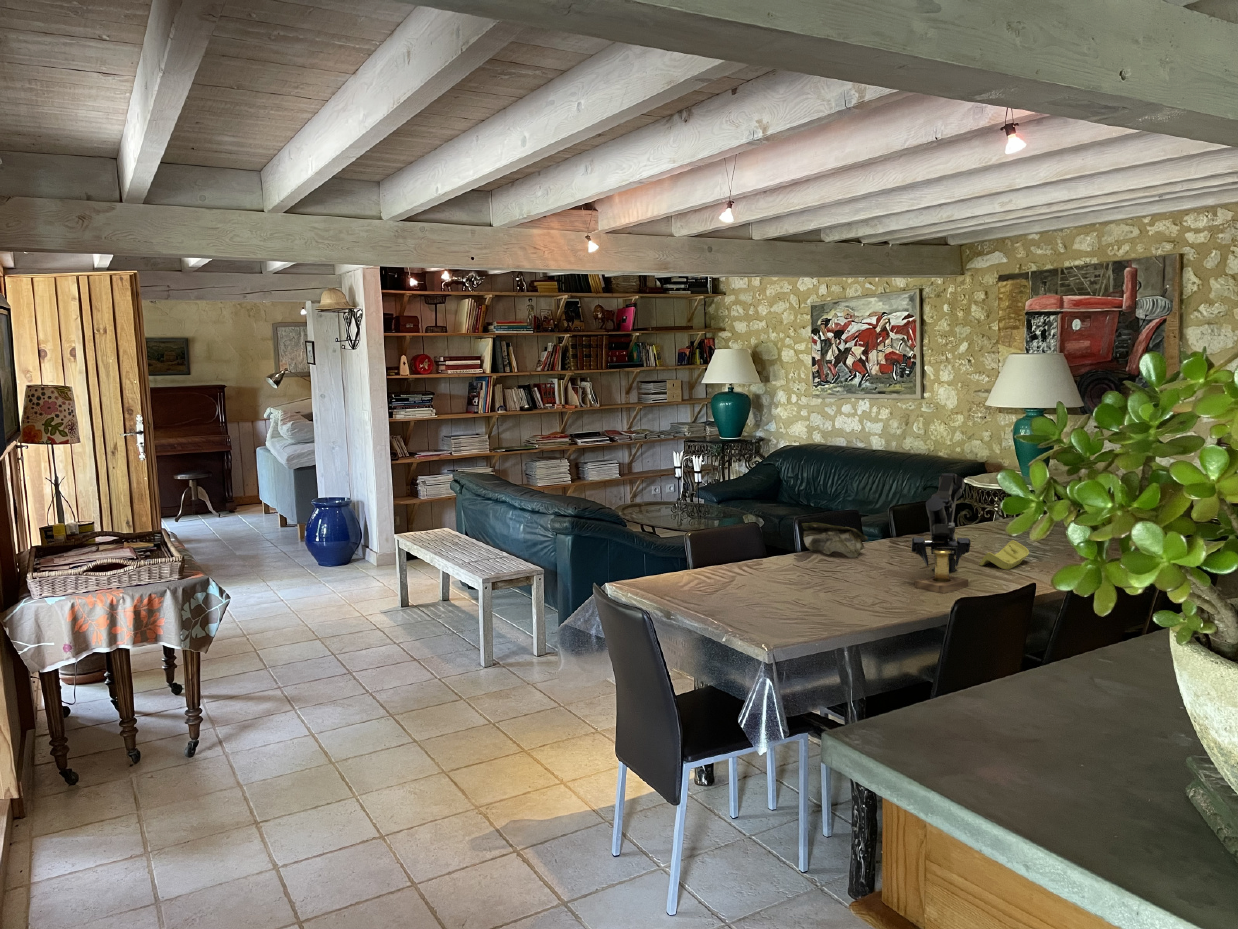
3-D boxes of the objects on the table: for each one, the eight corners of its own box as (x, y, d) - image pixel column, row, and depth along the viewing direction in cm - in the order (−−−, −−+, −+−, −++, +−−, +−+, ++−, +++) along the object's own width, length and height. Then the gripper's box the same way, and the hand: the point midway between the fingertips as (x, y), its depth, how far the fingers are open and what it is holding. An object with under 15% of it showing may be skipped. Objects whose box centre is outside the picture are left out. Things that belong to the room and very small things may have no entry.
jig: (915, 587, 303) (915, 580, 302) (939, 580, 311) (939, 574, 311) (943, 593, 294) (943, 586, 294) (968, 586, 302) (968, 579, 302)
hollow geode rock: (802, 560, 371) (786, 538, 363) (814, 536, 376) (798, 514, 368) (861, 568, 350) (845, 545, 342) (873, 542, 356) (858, 519, 348)
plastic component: (1009, 564, 322) (985, 549, 327) (1001, 581, 325) (977, 566, 331) (1033, 551, 334) (1009, 537, 340) (1025, 567, 338) (1001, 553, 344)
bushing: (929, 586, 303) (929, 550, 302) (939, 584, 307) (939, 548, 305) (944, 589, 299) (944, 552, 297) (954, 587, 302) (954, 550, 301)
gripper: (911, 514, 306) (914, 552, 296) (969, 514, 301) (974, 553, 292) (910, 532, 314) (912, 570, 305) (966, 532, 310) (970, 571, 300)
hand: (942, 566), depth 300 cm, fingers open, 9 cm apart
